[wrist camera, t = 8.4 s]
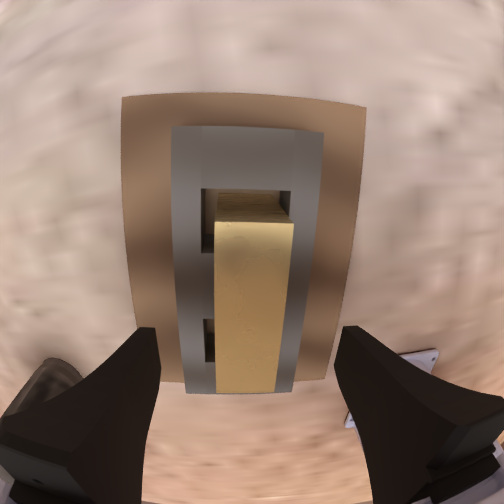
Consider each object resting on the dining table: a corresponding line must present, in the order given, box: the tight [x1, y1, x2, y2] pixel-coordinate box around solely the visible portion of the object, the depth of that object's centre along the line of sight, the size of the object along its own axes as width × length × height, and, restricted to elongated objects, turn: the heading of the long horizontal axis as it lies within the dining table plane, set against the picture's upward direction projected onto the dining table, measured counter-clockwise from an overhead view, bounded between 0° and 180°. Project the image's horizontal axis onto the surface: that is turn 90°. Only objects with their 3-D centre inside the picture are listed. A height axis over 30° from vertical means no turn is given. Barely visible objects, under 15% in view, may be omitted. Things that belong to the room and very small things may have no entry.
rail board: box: [121, 93, 366, 394], centre depth 18 cm, size 20×14×4 cm
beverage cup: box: [0, 358, 83, 486], centre depth 13 cm, size 7×7×20 cm
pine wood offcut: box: [214, 193, 294, 393], centre depth 16 cm, size 9×3×6 cm, turn 177°
